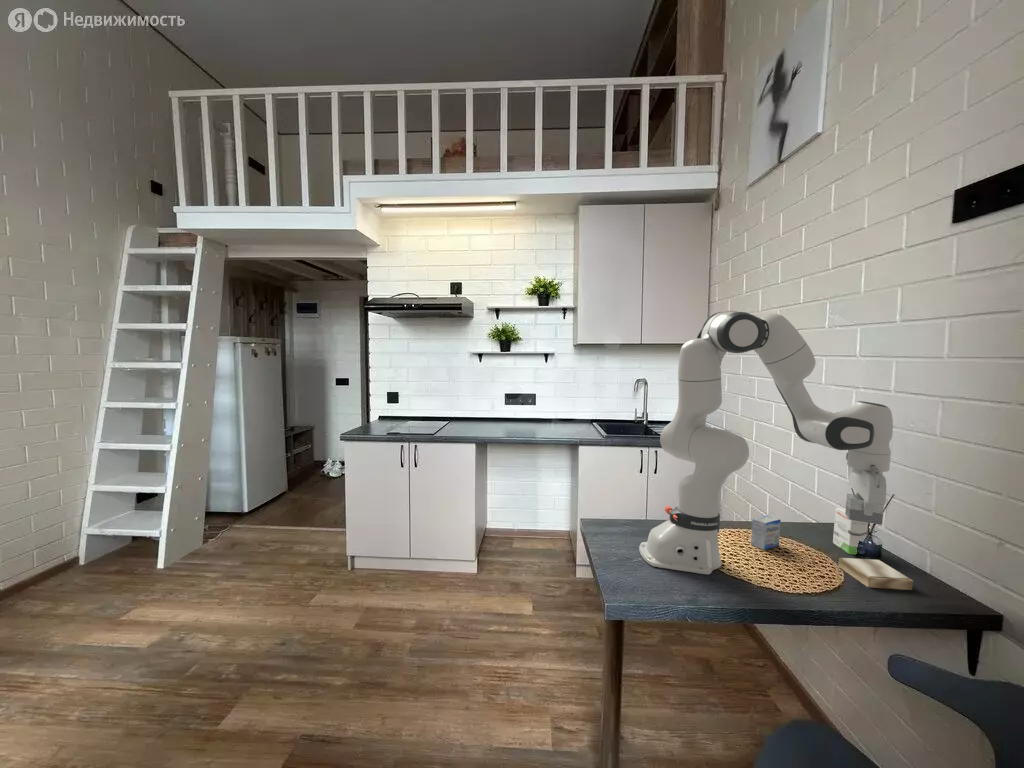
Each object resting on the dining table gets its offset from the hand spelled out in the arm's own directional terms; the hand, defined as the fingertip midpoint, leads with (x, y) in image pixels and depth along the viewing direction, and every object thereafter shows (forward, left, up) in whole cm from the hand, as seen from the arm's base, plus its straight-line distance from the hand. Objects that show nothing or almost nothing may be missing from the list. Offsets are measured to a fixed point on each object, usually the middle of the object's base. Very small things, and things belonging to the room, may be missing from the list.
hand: (864, 510), depth 116 cm
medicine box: (-17, +16, -18) cm, 29 cm away
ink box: (+9, +17, -18) cm, 26 cm away
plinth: (+3, -1, -18) cm, 18 cm away
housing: (0, 0, -2) cm, 2 cm away
